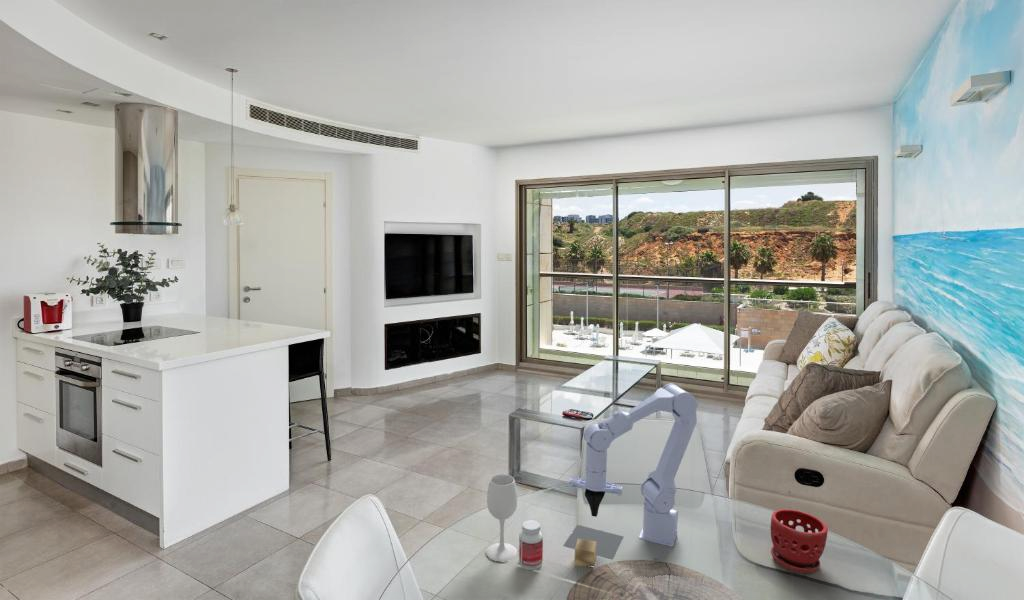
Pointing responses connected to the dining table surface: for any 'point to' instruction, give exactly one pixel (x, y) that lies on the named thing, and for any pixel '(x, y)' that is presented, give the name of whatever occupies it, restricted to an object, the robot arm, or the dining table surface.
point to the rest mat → (604, 540)
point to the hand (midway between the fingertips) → (594, 514)
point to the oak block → (585, 553)
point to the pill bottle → (530, 545)
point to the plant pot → (797, 540)
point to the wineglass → (501, 513)
